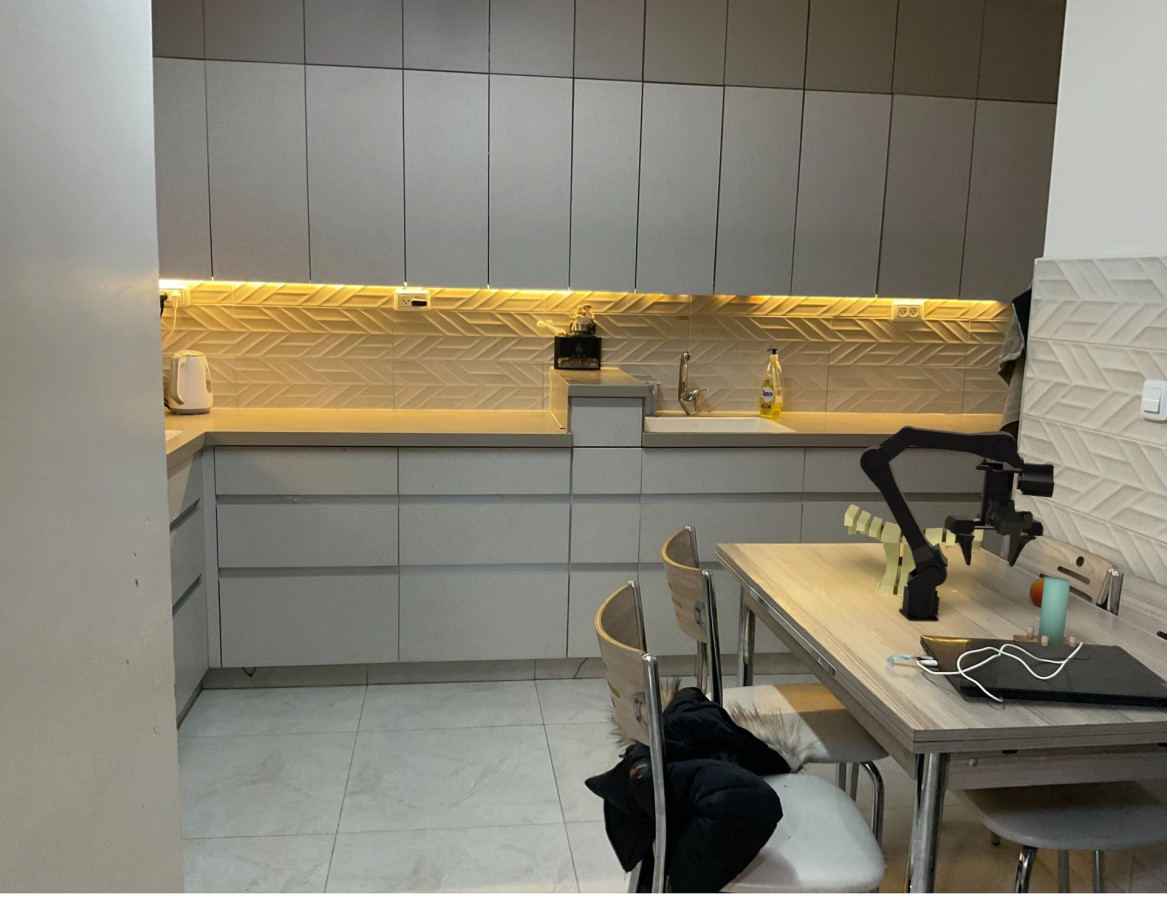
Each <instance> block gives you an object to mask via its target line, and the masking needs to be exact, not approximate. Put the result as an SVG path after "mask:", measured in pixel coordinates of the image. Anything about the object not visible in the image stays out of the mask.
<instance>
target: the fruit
mask: <svg viewBox="0 0 1167 900" xmlns="http://www.w3.org/2000/svg"><path fill="white" fill-rule="evenodd" d="M1045 577H1046V576H1044V577H1041V578H1038V579H1037V580H1035V581H1034V582H1033V583H1032V584H1031V585H1030V587H1029V597H1030V599H1031V601H1032V603H1034V605H1036V606H1037V607H1039V606H1040V608H1041V606H1042V597H1043V588H1044V579H1045Z"/></svg>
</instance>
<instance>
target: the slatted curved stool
mask: <svg viewBox="0 0 1167 900" xmlns="http://www.w3.org/2000/svg"><path fill="white" fill-rule="evenodd" d="M871 518H872V513H869V512H868V511H865V510H862V511H861V513H860V507H859V506H857V505H856V504H850V505H849V506H848V508H847V510H846V512H845V514H844V523H843V525H844V526H846V527H847V528H848V530H847V532H848V533H847V535H849V536H850V535H856V534H857V533H858V532H859V535H864V536H868V537H872V538H873V539H876V540H877V541H879V542H880V543H881V542H882V543H883V544H882V547H883V549H884V553H885V557H886V568H885V571H884V573H883V575H882V576H881V578H880V579H881V581H880V580H879V582H880V584H879V583H878V585H879V587H878V586H877V589H878V590H877V589H876V592H882V593H881V594H883V593H889V594H888V595H891V594H893V593H895V594H893V595H897V596H898V595H903V594H904V586H907V579H908V573H909V572H911V571H912V570H913V569H915V568H916V567H915V563H914V559H913V556H912V552H911V548H910V546H909V545H908V543H907V541H906V539H905V537H904V535H903V533H902V531H901V529H900V527H899V525H898V524H897V523H893V522H889V521H885V523H884V525H883V519H882V518H881V517H879V516H873V519H872V520H871ZM974 520H977V521H979V519H977V518H975V519H974ZM921 529H922V531H923V533H924V535H925V536H926V538H927V540H928V541H929V542H930V543H931V544H932V545H933V546H934V545H936V544H938V543H939V544H940V547H941V548H942V545H943V544H942V542H944V543H945V548H944V549H945V550H947V549H949V548H954V547H955V545H956V544H958V547H960V544H959V542H958V540H957V538H956V536H955V534H953V533H951V532H950V531H949V530H948V529H946V532H943V530H944V527H934V528H933V527H931V528H929V527H928V528H925V529H923V527H921ZM971 534H972V535H974V536H975V538H974V540H973V541H972V549H975V550H978V551H980V549H981V548H980V547H981V542H983V537H984V530H977V529H975V530H974V531H973V532H972V533H971ZM901 545H903V546H902V547H903V549H902V556H900V553H901ZM899 566H900V567H901V569H900V570H901V571H900V575H899V576H900V577H899V581H898V572H899ZM897 581H898V584H897ZM896 585H898V586H896Z"/></svg>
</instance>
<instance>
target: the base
mask: <svg viewBox="0 0 1167 900" xmlns="http://www.w3.org/2000/svg"><path fill="white" fill-rule="evenodd" d="M1034 634H1035V626H1033V625H1027V631H1026V634H1013V635H1012V637H1013V638H1012V641H1013V640H1015V641H1020V642H1038V634H1035V635H1034ZM1048 639H1049V636H1046V635H1042V640H1041V645H1042V646H1048ZM1063 644H1069V646H1071V647H1075V646H1076V645H1077V636H1074V635H1070V636H1069V639H1067V638H1065V637H1064V639H1063Z"/></svg>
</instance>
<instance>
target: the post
mask: <svg viewBox="0 0 1167 900" xmlns="http://www.w3.org/2000/svg"><path fill="white" fill-rule="evenodd" d="M1044 577H1045V579H1044V588H1043V597H1042V606H1041V607H1040V615H1039V618H1040V619H1039V626H1038V633H1037V635H1038V643H1041V640H1042V635H1046V636H1049V639H1048V644H1051V645H1063V639H1064V638H1065V629H1066V621H1067V611H1068V604H1069V594H1070V587H1071V586H1070V584H1071V581H1070V580H1069V579H1067V578H1064V577H1058V576H1044Z"/></svg>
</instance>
